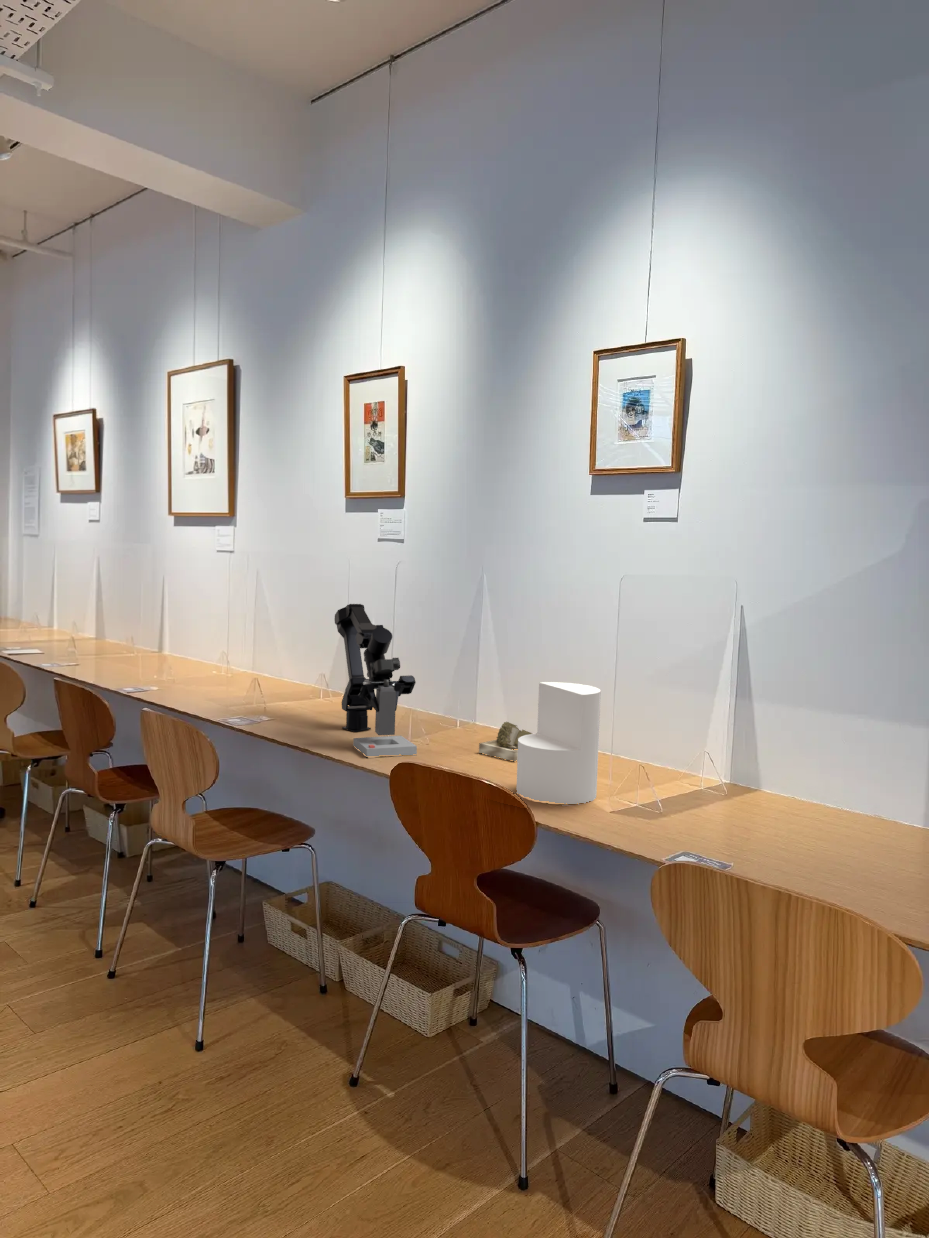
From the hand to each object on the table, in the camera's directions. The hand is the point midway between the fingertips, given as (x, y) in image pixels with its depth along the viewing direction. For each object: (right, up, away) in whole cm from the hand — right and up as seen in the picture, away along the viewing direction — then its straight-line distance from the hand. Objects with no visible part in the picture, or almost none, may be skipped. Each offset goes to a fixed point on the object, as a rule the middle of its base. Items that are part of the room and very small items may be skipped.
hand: (386, 710), depth 249 cm
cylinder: (+43, -16, -36) cm, 58 cm away
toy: (+37, -12, +5) cm, 40 cm away
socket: (-1, -11, +2) cm, 12 cm away
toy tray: (+37, -12, +6) cm, 40 cm away
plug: (-1, -6, +2) cm, 7 cm away
